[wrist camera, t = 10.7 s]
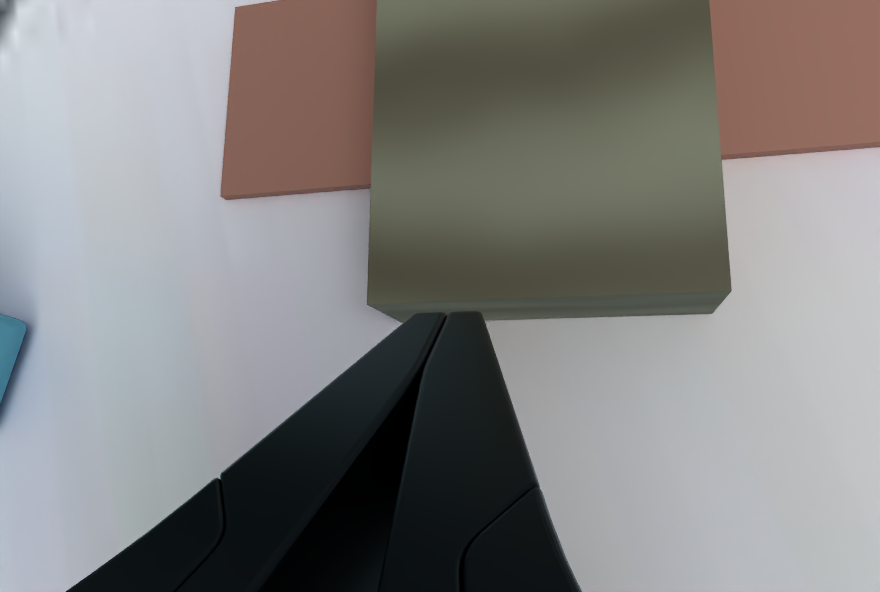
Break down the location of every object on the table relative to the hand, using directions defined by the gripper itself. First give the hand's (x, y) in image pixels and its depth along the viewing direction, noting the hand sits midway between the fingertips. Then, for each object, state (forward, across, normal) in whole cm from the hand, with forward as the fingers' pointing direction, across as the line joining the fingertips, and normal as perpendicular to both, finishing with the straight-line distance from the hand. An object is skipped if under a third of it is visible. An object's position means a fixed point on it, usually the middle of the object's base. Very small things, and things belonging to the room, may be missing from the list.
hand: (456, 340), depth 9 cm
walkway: (+19, 0, 0) cm, 19 cm away
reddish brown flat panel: (+18, 0, +2) cm, 18 cm away
